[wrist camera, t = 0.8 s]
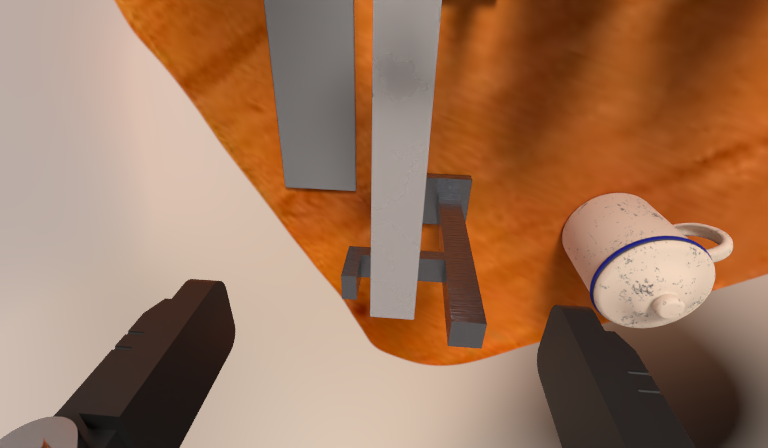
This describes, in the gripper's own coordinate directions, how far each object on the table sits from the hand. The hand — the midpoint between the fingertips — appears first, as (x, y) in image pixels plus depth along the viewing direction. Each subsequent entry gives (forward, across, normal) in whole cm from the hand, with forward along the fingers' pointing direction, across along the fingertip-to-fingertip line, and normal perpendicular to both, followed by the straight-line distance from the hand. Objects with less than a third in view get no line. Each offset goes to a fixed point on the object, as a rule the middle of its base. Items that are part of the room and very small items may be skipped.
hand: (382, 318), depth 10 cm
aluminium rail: (+15, 0, 0) cm, 15 cm away
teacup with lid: (+28, -22, +12) cm, 37 cm away
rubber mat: (+27, +8, -3) cm, 29 cm away
